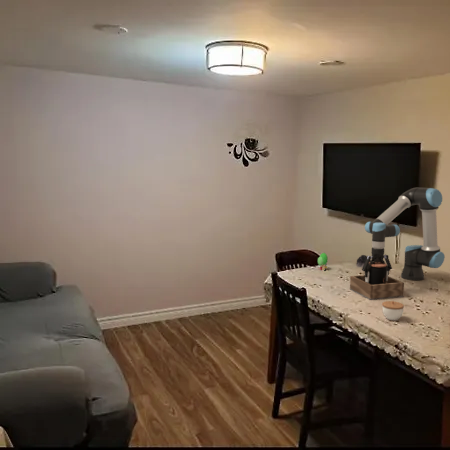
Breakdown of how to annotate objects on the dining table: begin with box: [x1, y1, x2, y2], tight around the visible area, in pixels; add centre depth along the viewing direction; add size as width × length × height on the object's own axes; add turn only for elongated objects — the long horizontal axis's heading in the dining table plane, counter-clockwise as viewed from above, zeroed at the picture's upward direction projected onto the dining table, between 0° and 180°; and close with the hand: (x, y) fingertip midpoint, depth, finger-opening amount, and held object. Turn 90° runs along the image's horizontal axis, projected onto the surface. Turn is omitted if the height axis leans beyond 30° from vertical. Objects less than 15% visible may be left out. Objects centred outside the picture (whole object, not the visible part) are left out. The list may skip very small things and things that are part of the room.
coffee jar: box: [368, 262, 387, 285], centre depth 284 cm, size 11×11×18 cm
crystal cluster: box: [356, 254, 372, 268], centre depth 356 cm, size 13×14×10 cm
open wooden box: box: [349, 274, 405, 301], centre depth 285 cm, size 23×23×9 cm
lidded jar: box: [381, 300, 405, 321], centre depth 241 cm, size 11×11×9 cm
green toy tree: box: [317, 252, 329, 271], centre depth 345 cm, size 15×14×14 cm
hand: (376, 281), depth 285 cm, fingers open, 13 cm apart
